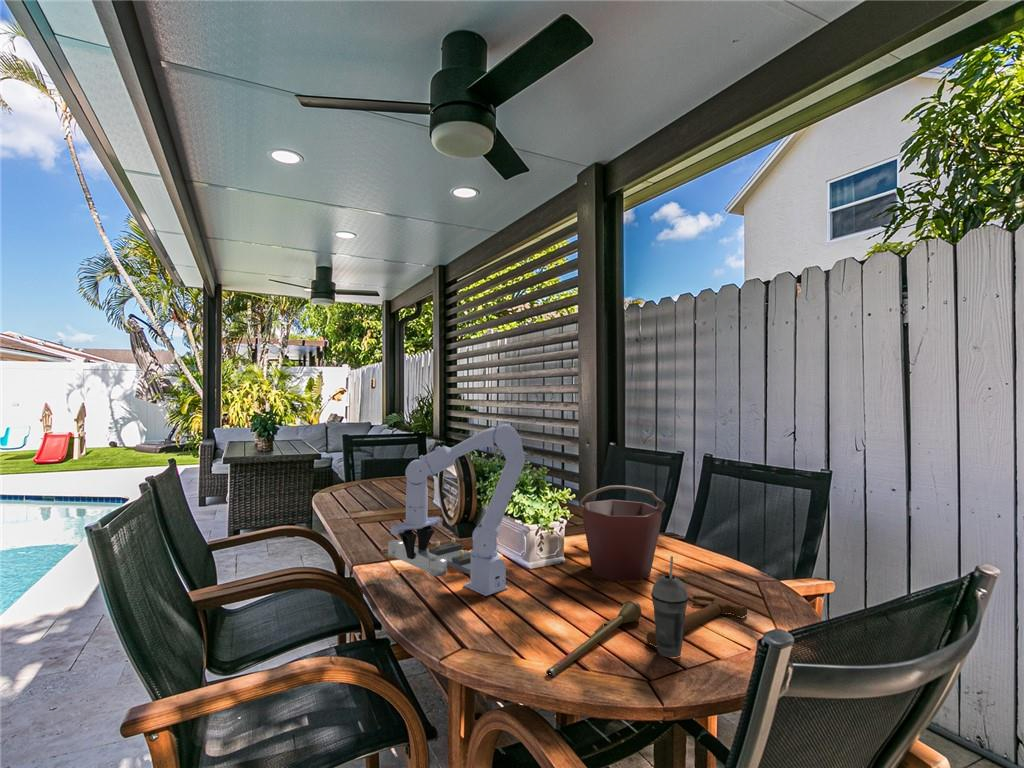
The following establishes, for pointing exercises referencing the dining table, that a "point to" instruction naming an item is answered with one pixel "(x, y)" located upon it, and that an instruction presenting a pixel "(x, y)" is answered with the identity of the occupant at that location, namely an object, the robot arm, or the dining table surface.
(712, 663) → the dining table surface
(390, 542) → the grey bar
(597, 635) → the panzerfaust rocket launcher
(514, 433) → the robot arm
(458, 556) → the peg rack
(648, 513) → the bucket
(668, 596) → the beverage cup
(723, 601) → the hammer
